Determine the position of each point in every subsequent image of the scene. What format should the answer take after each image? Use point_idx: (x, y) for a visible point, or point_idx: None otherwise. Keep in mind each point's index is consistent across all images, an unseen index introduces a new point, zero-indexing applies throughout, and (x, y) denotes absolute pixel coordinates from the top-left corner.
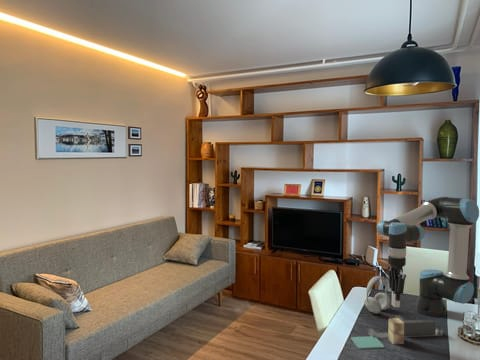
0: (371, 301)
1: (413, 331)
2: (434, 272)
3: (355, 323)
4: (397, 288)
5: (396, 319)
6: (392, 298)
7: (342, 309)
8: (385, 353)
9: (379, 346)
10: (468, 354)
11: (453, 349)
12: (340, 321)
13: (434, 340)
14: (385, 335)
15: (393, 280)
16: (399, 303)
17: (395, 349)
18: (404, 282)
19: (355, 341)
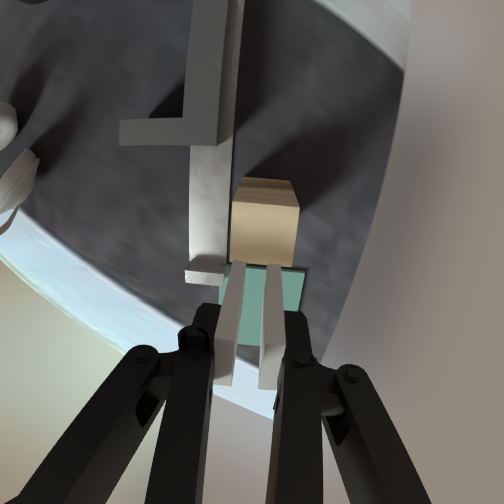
0: (8, 203)
1: (226, 94)
2: None
3: (107, 274)
4: (337, 450)
5: (249, 226)
6: (237, 339)
7: (21, 263)
8: (338, 286)
9: (299, 289)
10: (404, 7)
11: (367, 21)
12: (98, 312)
13: (285, 34)
14: (213, 219)
15: (200, 494)
16: (280, 283)
17: (324, 239)
18: (426, 495)
19: (249, 341)
